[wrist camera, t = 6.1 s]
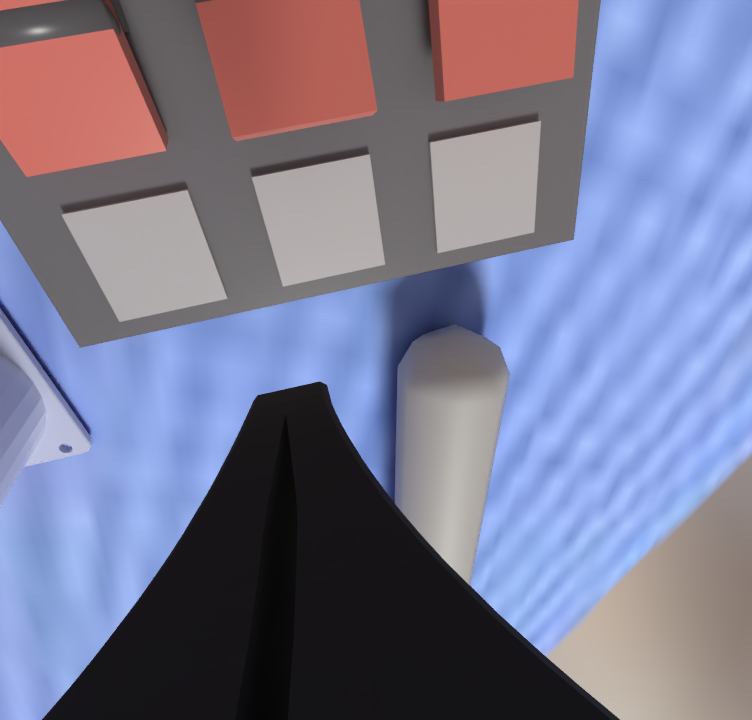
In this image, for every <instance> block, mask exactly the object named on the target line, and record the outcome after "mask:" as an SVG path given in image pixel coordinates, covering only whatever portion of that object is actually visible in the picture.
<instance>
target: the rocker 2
mask: <svg viewBox="0 0 752 720" xmlns="http://www.w3.org/2000/svg"><path fill="white" fill-rule="evenodd" d="M195 3H196V7H197V11H198V14H199V18H200V22H201V25H202V29H203V33H204V36H205V40H206V44H207V47H208V51H209V55H210V58H211V62H212V66H213V69H214V73H215V77H216V80H217V84H218V88H219V91H220V95H221V99H222V102H223V106H224V110H225V113H226V117H227V121H228V124H229V128H230V132H231V136H232V138H233V139H234V140H235V141H241V140H246V139H251V138H256V137H262V136H267V135H272V134H278V133H283V132H288V131H294V130H299V129H304V128H309V127H315V126H320V125H325V124H331V123H336V122H341V121H347V120H352V119H357V118H362V117H368V116H373V115H374V114H375V112H376V111H377V104H376V98H375V92H374V86H373V80H372V74H371V68H370V62H369V56H368V49H367V43H366V37H365V31H364V25H363V19H362V13H361V7H360V1H359V0H195Z"/></svg>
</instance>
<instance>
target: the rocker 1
mask: <svg viewBox="0 0 752 720" xmlns="http://www.w3.org/2000/svg"><path fill="white" fill-rule="evenodd" d="M0 140H1V141H2V143H3V144H4V146H5V147H6V148H7V150H8V151H9V153H10V154H11V156H12V157H13V158H14V160H15V161H16V163H17V164H18V166H19V167H20V168H21V170H22V171H23V173H24V174H25V176H26V177H30V176H35V175H40V174H46V173H51V172H56V171H62V170H67V169H72V168H78V167H83V166H88V165H94V164H99V163H104V162H110V161H115V160H120V159H126V158H131V157H136V156H141V155H147V154H152V153H157V152H163V151H167V145H168V140H169V138H168V135H167V133H166V131H165V128H164V126H163V124H162V121H161V119H160V117H159V114H158V112H157V110H156V107H155V105H154V103H153V100H152V98H151V95H150V93H149V91H148V88H147V86H146V84H145V81H144V79H143V77H142V74H141V72H140V70H139V67H138V65H137V63H136V60H135V58H134V55H133V53H132V51H131V48H130V46H129V44H128V41H127V39H126V37H125V34H124V32H123V30H122V27H121V25H120V23H119V20H118V17H117V14H116V11H115V8H114V6H113V4H112V1H111V0H0Z"/></svg>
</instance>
